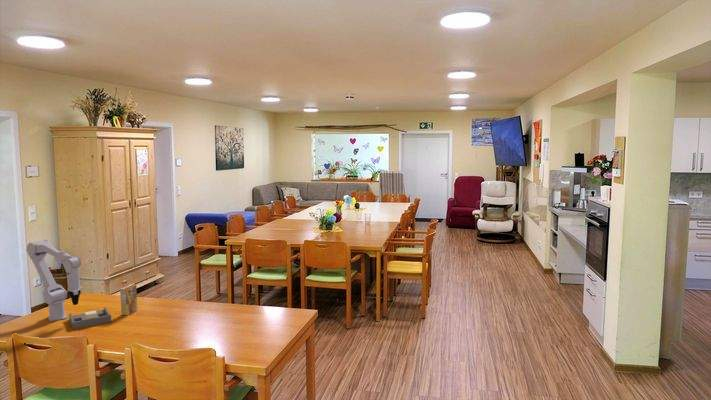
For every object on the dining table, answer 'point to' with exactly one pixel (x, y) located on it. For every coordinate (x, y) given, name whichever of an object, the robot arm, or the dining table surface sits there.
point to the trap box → (80, 321)
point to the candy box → (128, 299)
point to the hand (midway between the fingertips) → (75, 304)
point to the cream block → (90, 315)
